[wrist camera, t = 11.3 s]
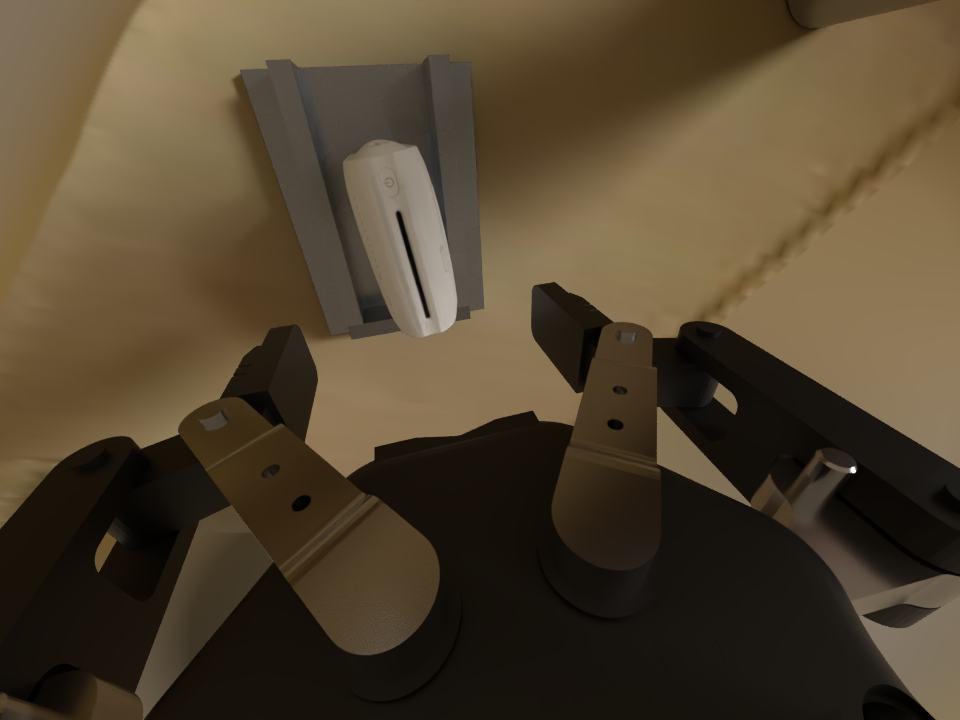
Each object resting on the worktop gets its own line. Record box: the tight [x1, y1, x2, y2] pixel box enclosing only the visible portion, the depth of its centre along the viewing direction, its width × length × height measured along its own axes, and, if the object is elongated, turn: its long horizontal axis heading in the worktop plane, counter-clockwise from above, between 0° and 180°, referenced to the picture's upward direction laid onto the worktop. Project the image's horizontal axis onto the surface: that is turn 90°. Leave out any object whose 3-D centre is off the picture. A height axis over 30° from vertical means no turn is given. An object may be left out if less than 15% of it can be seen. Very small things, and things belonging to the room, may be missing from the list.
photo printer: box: [343, 140, 457, 338], centre depth 22 cm, size 10×4×12 cm, turn 9°
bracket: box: [240, 55, 484, 339], centre depth 26 cm, size 14×18×4 cm
